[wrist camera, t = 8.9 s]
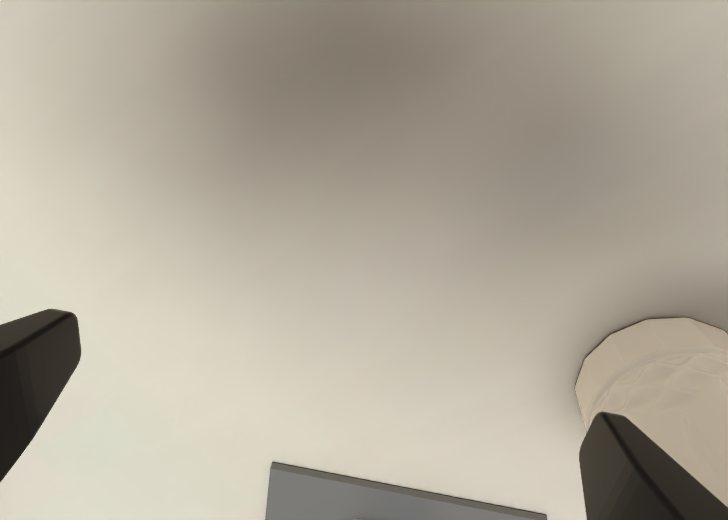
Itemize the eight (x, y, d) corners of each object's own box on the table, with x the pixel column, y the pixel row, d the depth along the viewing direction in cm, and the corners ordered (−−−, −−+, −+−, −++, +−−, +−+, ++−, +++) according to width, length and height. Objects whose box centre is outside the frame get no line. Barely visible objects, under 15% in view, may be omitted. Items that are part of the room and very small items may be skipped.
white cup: (765, 432, 23) (976, 704, 14) (579, 464, 25) (662, 722, 16) (753, 280, 20) (1011, 504, 11) (542, 329, 22) (620, 554, 13)
